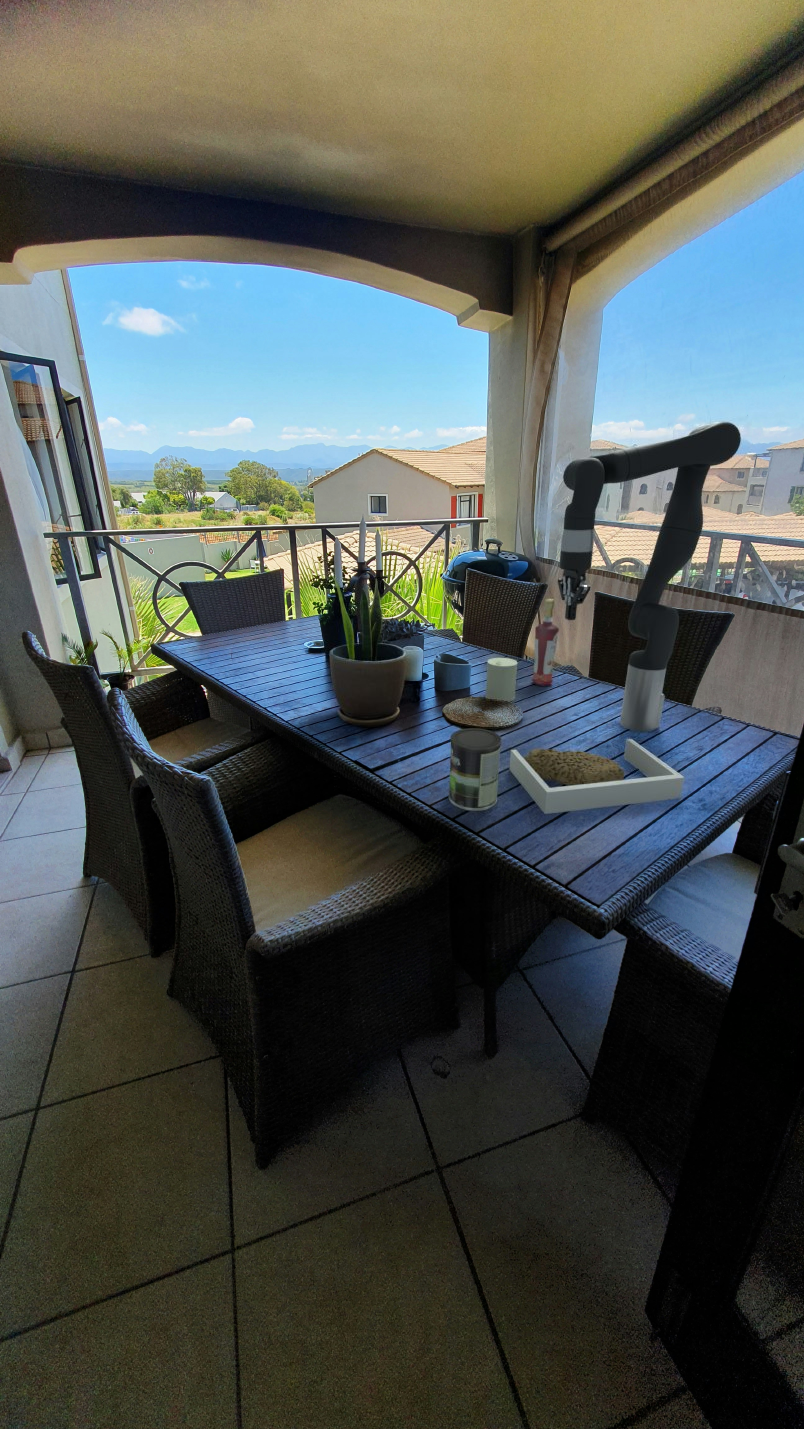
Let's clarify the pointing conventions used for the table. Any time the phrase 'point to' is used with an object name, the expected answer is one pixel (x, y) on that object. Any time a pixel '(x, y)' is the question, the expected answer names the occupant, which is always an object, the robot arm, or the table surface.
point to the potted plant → (367, 669)
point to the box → (603, 784)
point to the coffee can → (474, 768)
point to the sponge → (573, 767)
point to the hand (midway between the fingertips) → (570, 619)
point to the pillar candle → (501, 679)
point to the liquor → (545, 647)
